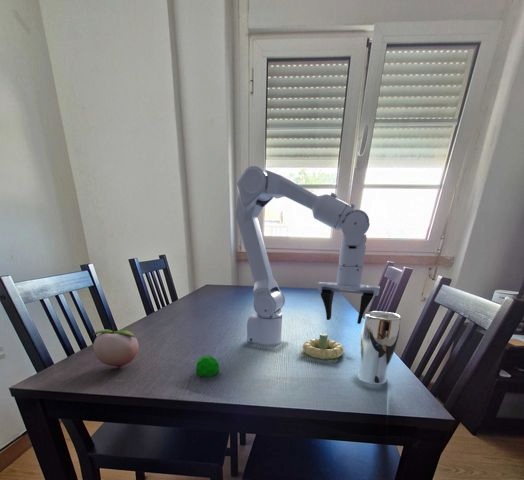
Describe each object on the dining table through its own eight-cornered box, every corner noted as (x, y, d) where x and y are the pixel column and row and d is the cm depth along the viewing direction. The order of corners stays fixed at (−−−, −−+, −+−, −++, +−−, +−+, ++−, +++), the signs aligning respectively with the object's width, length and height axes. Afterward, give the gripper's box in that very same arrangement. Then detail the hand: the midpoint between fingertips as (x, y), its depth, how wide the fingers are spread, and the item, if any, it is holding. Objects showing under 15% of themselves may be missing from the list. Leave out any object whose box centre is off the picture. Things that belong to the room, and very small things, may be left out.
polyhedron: (205, 370, 65) (204, 351, 63) (223, 374, 63) (223, 355, 61) (191, 379, 61) (190, 358, 59) (210, 384, 59) (209, 363, 57)
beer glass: (385, 394, 56) (399, 321, 51) (350, 384, 60) (360, 315, 54) (390, 380, 62) (404, 314, 56) (358, 373, 65) (368, 309, 60)
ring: (297, 356, 71) (298, 347, 70) (308, 343, 80) (308, 335, 79) (339, 363, 67) (340, 354, 66) (345, 349, 76) (346, 341, 75)
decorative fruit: (90, 377, 61) (80, 332, 57) (104, 362, 68) (96, 322, 65) (136, 374, 62) (129, 331, 59) (144, 360, 70) (139, 321, 66)
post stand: (300, 359, 72) (301, 336, 70) (309, 348, 80) (311, 327, 77) (335, 366, 69) (338, 342, 66) (341, 354, 76) (344, 332, 74)
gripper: (316, 265, 67) (311, 320, 72) (382, 268, 61) (372, 328, 66) (323, 263, 73) (318, 315, 78) (383, 266, 67) (374, 321, 72)
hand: (343, 320), depth 72 cm, fingers open, 7 cm apart
